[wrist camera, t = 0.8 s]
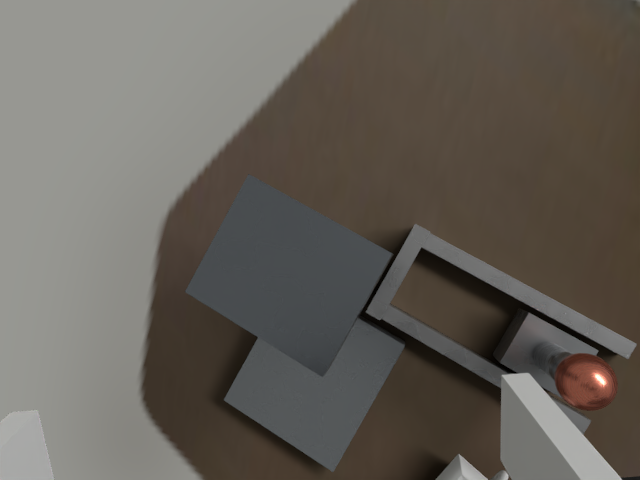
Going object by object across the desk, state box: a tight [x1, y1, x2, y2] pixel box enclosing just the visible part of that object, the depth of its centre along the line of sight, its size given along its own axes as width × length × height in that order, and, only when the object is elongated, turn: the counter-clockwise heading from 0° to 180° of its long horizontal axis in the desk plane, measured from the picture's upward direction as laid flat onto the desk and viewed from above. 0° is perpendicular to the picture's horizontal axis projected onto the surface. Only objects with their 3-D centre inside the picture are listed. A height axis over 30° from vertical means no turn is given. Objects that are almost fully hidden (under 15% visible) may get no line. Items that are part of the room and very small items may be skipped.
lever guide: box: [366, 224, 637, 434], centre depth 35 cm, size 17×7×3 cm, turn 61°
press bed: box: [185, 174, 405, 472], centre depth 28 cm, size 10×16×22 cm, turn 151°
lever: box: [492, 309, 618, 411], centre depth 30 cm, size 5×4×11 cm
